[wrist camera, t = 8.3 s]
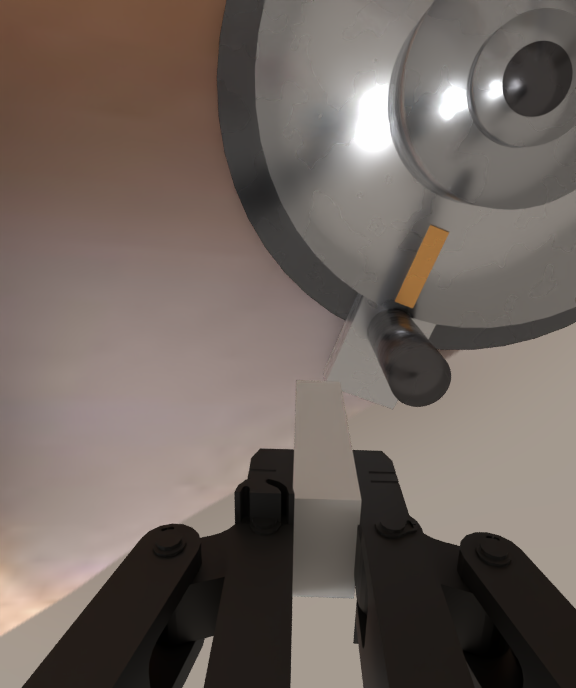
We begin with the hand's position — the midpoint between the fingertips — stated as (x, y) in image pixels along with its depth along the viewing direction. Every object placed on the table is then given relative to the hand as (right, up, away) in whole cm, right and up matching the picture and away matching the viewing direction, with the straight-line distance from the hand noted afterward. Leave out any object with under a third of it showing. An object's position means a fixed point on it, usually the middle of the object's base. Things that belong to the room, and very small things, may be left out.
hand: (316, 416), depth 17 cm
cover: (+8, +13, +4) cm, 16 cm away
